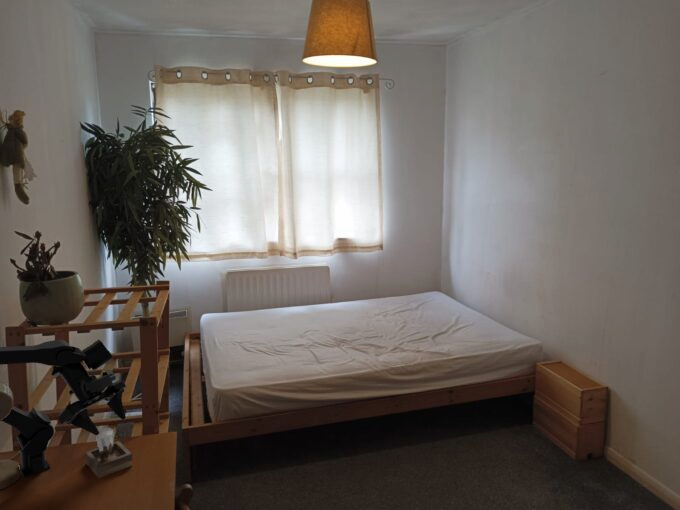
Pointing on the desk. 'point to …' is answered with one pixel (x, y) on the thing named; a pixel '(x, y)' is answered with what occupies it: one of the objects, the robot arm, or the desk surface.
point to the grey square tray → (119, 461)
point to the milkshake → (105, 444)
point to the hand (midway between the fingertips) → (111, 426)
